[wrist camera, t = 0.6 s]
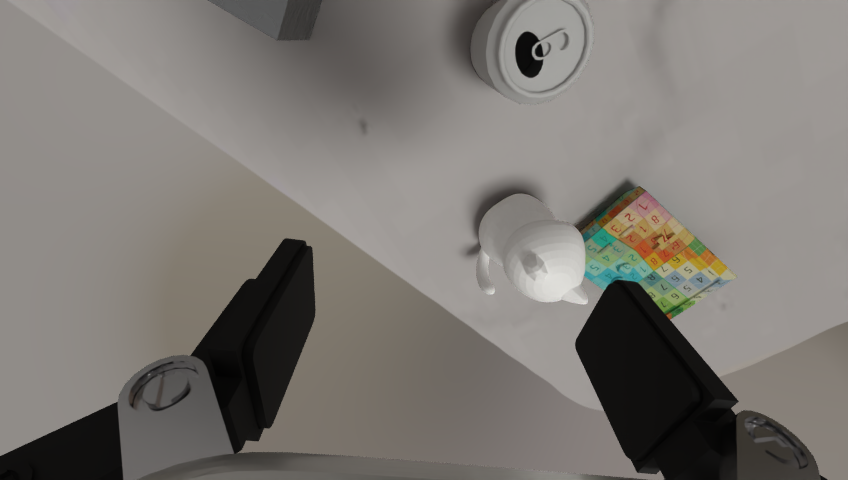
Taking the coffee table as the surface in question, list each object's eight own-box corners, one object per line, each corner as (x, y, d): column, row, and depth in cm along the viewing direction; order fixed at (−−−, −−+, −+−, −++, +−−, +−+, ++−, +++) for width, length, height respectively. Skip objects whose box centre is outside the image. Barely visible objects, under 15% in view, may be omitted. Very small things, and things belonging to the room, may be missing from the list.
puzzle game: (650, 193, 35) (743, 281, 41) (627, 178, 39) (715, 259, 45) (565, 264, 40) (660, 333, 46) (552, 244, 44) (641, 309, 50)
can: (457, 21, 31) (474, 13, 21) (536, -19, 29) (596, -50, 19) (482, 100, 34) (507, 126, 24) (554, 68, 33) (613, 81, 23)
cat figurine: (567, 207, 41) (634, 282, 28) (499, 273, 46) (530, 361, 33) (515, 167, 38) (562, 229, 25) (449, 241, 43) (461, 324, 31)
